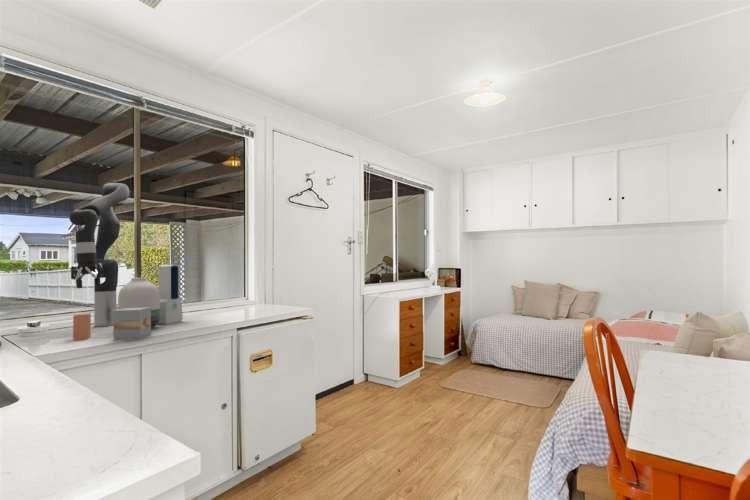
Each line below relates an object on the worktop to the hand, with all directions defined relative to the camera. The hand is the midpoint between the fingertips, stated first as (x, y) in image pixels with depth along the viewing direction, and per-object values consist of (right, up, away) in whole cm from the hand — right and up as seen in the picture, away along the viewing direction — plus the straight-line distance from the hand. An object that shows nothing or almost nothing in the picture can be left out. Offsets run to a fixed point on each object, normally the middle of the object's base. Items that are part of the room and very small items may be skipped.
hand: (88, 287), depth 179 cm
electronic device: (+26, -21, +20) cm, 39 cm away
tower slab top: (+32, -11, -17) cm, 38 cm away
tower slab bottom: (+32, -19, -18) cm, 41 cm away
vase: (+22, -20, +3) cm, 30 cm away
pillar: (+12, -19, -19) cm, 30 cm away
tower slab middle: (+32, -15, -18) cm, 39 cm away
